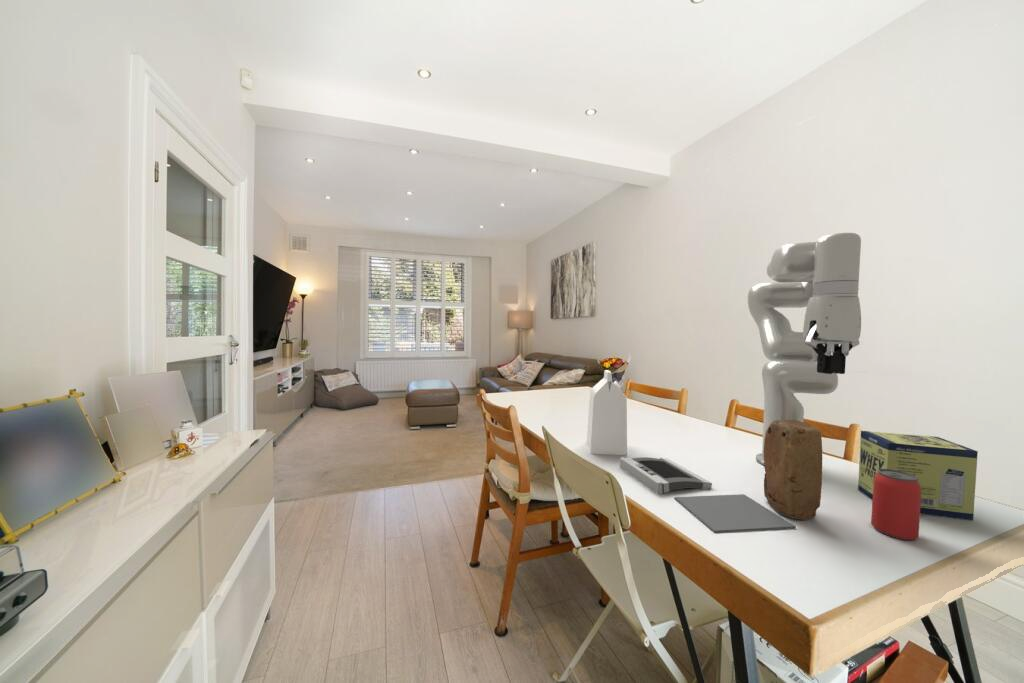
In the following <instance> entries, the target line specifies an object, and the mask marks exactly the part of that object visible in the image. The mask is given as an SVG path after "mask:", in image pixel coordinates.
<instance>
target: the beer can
mask: <svg viewBox="0 0 1024 683" xmlns="http://www.w3.org/2000/svg"><path fill="white" fill-rule="evenodd" d="M921 492H922V491H921V487H920V484H919V482H918V478H917V477H916V476H914V475H912V474H909V473H906V472H902V471H898V470H892V469H879V470H878V473H877V474H876V475H875V478H874V484H873V500H872V502H871V503H872V505H871V520H870V521H871V522H870V524H871V526H873V528H874V529H876V530H877V531H878V532H880V533H882V534H885V535H887V536H889V537H891V538H892V537H893V538H895V539H899V540H905V541H913V540H917V539H918V538H919V535H920V534H919V533H920V522H921V521H920V518H921V514H920V507H921Z"/></svg>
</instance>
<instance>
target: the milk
mask: <svg viewBox="0 0 1024 683" xmlns="http://www.w3.org/2000/svg"><path fill="white" fill-rule="evenodd" d="M612 375H613V374H612V371H610V369H605V370H604V373H603V378H602V379H600V380H599V381H598V382H597V383H596V384H595V385H594V386H593V387H592V388H591V389H590V391H589V400H588V415H587V430H586V443H587V444H586V445H587V447H588V450H589V453H590V454H597V455H598V454H599V455H616V456H617V455H619V456H628V412H627V411H628V408H627V406H628V404H627V403H628V400H627V395H626V394H625V392H623V391H622V390H621V388H622V386H621V385H620V384H619V382H618V381H617V380H615V381H614V382H613V376H612Z"/></svg>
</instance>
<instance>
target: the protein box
mask: <svg viewBox="0 0 1024 683" xmlns="http://www.w3.org/2000/svg"><path fill="white" fill-rule="evenodd" d="M859 441H860V442H859V444H860V445H859V463H858V485H857V490H858V491H859V492H861V493H862V494H863V495H864V496H866V497H868V498H869V499H871V500H872V501H873V484H874V478H875V475H876V474H877V473H878V470H879V469H892V470H898V471H902V472H906V473H909V474H912V475H914V476H916V477H917V478H918V482H919V484H920V487H921V491H922V492H921V507H920V515H928V516H934V517H935V516H936V517H941V518H942V517H944V518H950V519H956V520H957V519H958V520H963V521H965V520H966V521H974V515H975V514H974V513H975V512H974V511H975V499H976V498H975V496H976V485H977V484H976V483H977V482H976V481H977V466H978V452H979V451H978V450H975V449H972V448H970V447H967V446H964V445H962V444H958V443H956V442H953V441H950V440H948V439H945V438H941V437H939V436H930V435H921V434H920V435H917V434H907V433H906V434H904V433H895V432H893V433H892V432H891V433H890V432H880V431H868V430H861V431H860V440H859Z"/></svg>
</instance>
